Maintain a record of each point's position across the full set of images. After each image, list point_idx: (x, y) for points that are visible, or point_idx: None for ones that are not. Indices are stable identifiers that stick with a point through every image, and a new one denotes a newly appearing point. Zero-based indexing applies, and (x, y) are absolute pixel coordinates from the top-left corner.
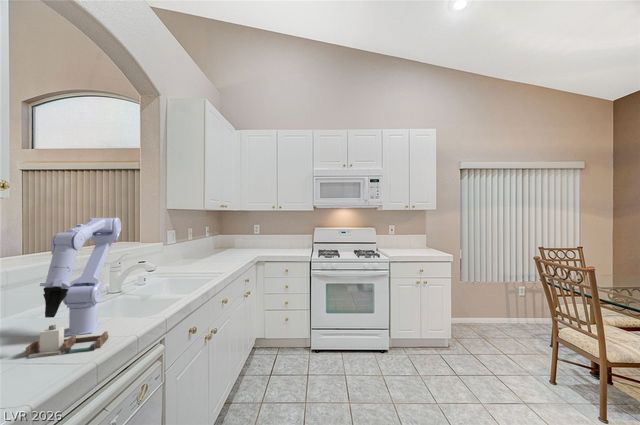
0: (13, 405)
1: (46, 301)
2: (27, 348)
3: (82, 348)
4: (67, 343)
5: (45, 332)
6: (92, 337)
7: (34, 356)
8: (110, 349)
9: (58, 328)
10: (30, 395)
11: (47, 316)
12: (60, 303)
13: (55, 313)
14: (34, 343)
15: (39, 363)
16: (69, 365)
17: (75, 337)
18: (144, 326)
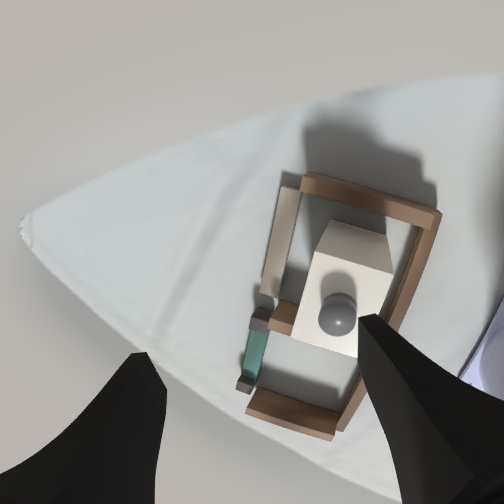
0: (33, 223)
1: (75, 422)
2: (301, 182)
3: (256, 358)
4: (284, 330)
5: (307, 277)
6: (352, 395)
7: (278, 208)
8: (231, 406)
9: (332, 336)
10: (51, 242)
11: (361, 331)
12: (395, 462)
13: (364, 383)
14: (356, 204)
15: (210, 233)
16: (155, 311)
17: None
18: (392, 486)
